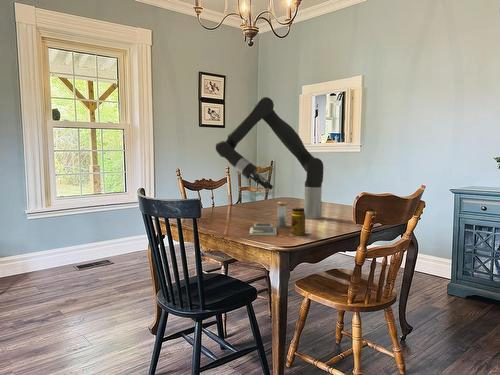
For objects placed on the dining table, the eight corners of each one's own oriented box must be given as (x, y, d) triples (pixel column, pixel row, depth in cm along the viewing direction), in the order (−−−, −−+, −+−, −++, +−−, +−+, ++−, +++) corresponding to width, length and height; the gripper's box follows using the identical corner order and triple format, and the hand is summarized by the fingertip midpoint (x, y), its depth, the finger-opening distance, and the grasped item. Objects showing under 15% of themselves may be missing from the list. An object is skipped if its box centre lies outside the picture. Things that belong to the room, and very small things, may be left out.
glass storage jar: (286, 225, 189) (286, 201, 188) (286, 227, 185) (287, 203, 183) (276, 225, 190) (277, 201, 188) (277, 227, 185) (277, 203, 184)
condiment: (287, 235, 169) (287, 208, 167) (297, 232, 175) (298, 206, 174) (301, 237, 164) (301, 210, 163) (311, 234, 170) (312, 207, 169)
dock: (276, 229, 179) (276, 222, 179) (276, 235, 167) (276, 227, 167) (250, 229, 180) (250, 222, 179) (249, 235, 168) (249, 227, 168)
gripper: (246, 160, 188) (270, 181, 184) (254, 163, 202) (277, 182, 198) (237, 172, 190) (261, 193, 185) (246, 174, 203) (269, 194, 199)
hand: (269, 187), depth 191 cm, fingers open, 8 cm apart
